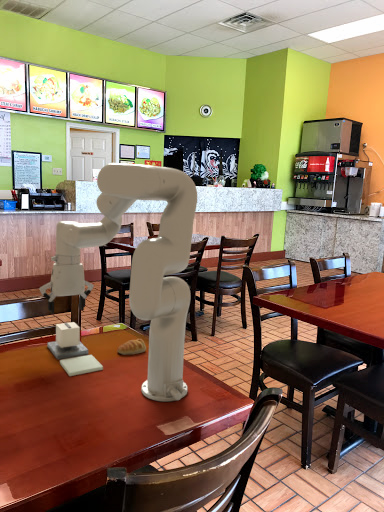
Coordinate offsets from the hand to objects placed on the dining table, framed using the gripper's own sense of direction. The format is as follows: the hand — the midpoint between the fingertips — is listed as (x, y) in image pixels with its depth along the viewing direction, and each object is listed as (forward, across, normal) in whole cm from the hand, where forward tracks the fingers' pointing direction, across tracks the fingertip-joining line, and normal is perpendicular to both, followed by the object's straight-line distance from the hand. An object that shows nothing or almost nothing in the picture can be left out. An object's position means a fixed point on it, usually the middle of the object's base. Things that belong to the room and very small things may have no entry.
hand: (66, 310), depth 134 cm
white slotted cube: (+11, 0, -1) cm, 11 cm away
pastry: (+14, +20, -10) cm, 26 cm away
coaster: (+13, 0, -15) cm, 20 cm away
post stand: (+14, 0, -1) cm, 14 cm away
